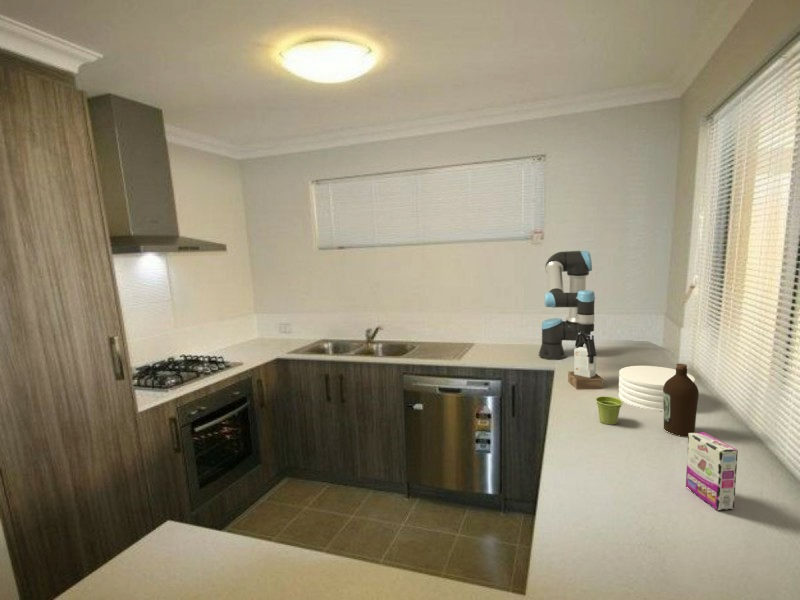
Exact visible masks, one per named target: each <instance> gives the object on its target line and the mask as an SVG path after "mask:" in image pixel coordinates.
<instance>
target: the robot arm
mask: <svg viewBox="0 0 800 600" xmlns="http://www.w3.org/2000/svg"><path fill="white" fill-rule="evenodd" d="M544 268H545V272H546V274H547V288H548V289H547V292H545V294H544V306H545V307H546V308H553V309H554V308H568V316H567V317H566V319H565V320H563V319H562V318H556V317H555V318H547V319H544V320H543V321H542V323H541V345H540V348H539V351H538V357H539V356H540V357H539V358H541V357H543V358H542V359H544V358H546V359H545V360H551V359H558V360H563V359H565V358H566V352H565V349H564V346H563V341H572V342H573V341H574V342H575V344H574V346H575V347H576V348H579V347H584V345H585V348H587V352H588V355H587V370H594V357H595V356H596V357H597V349H596V346H595V344H596V343H595V336H594V335H593V334H591V333H592V332H594V331H595V303H596V302H595V299H596V296H595V295H596V294H595V292H594V290H588V289H587V290H586V285H587V284H586V283H587V282H586V281H587V280H586V279H587V277H588V276H589V275H590V272H592V271H593V263H592V256H591V254H590V251H588V250H573V251H572V250H569V251H567V250H566V251H559V252H556V253H554V254H552V255H551V256H549V258H548V260H546V262H545V267H544ZM563 272H565V273H566V275H567V277H569V292H564V282H563ZM576 348H575V349H576ZM595 349H596V350H595Z"/></svg>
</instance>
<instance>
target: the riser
mask: <svg viewBox="0 0 800 600" xmlns="http://www.w3.org/2000/svg"><path fill="white" fill-rule="evenodd" d="M603 381H604V378H603V377H602V376H600V375H599V374H598V373H596V375H595V376H593V377H591V378H588V377H583V376H578V375H574V371H567V382H568V383H569V384H570V385H571V386H572V387H573V388H575V390H603V389H604V388H603V384H604V383H603Z"/></svg>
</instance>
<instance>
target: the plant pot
mask: <svg viewBox="0 0 800 600" xmlns="http://www.w3.org/2000/svg"><path fill="white" fill-rule="evenodd" d="M595 401H596V405H597V409H598V419H599V421H600V423H603V424H604V423H605V424H604V425H608V424H614V425H616V423H617V424H618V420H619V415H620V410H621V407H622V405H623V403H624V402H623V401H622V400H621V399H620V398H617V397H615V396H614V397H613V396H607V395H604V396H597V397H595Z"/></svg>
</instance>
